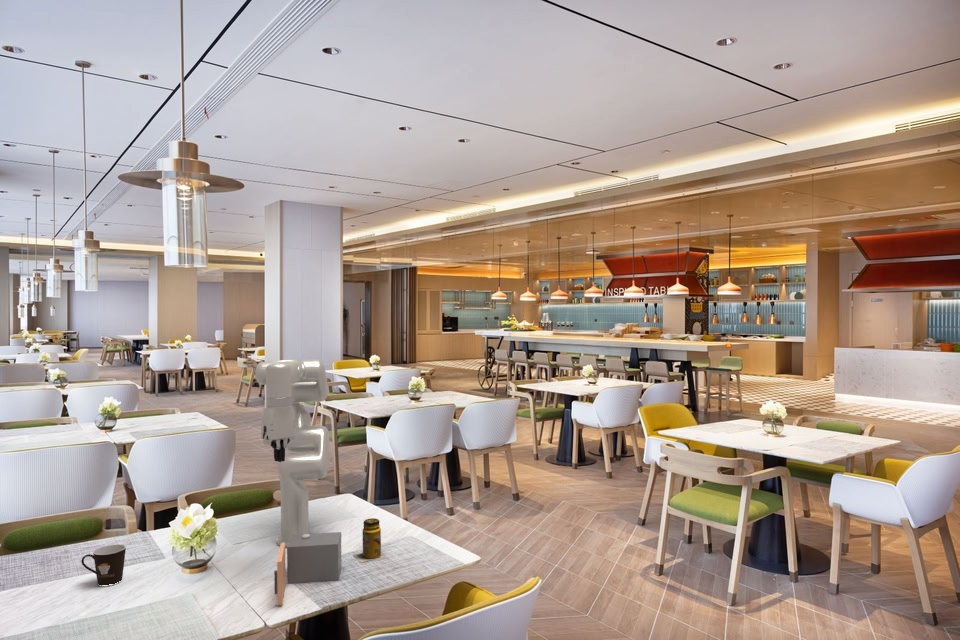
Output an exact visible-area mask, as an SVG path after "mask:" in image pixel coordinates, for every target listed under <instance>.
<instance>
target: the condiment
mask: <svg viewBox="0 0 960 640" xmlns="http://www.w3.org/2000/svg"><path fill="white" fill-rule="evenodd" d="M381 533H382V531H381V527H380V519H378V518H374V517H373V518H367V519H364V521H363V528H362V553H356V554H355V553H354V554H353V557H355V559H357V560H358V561H359V562H360V563H364V562H369V561H370V562H371V561H374V560H377V559H378V560H379V559H383V558H385V557H386V556H385V555H383V554H382V542H381V541H382V536H381V535H382V534H381Z"/></svg>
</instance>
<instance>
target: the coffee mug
mask: <svg viewBox="0 0 960 640" xmlns="http://www.w3.org/2000/svg"><path fill="white" fill-rule="evenodd" d="M126 550H127V547H126V545H124V544H109V545H105V546H101V547H98V548H96V549H94V550H93V551H92V553H93V554H90V553H88V554H86V555H84V556H83V557H82V558H81V565H82V566H83V567H84V568H85V569H86V570H88V571H90V572H91V573H93V574H95V575H96V581H97V582H96V583H97V585H98V584H99V585H109V584H115V583H117V582H119V581H121V580H122V581H123V576H124V567H125V560H126V559H125V558H126V552H127V551H126ZM87 557H91V558H92V559H93V561H94V562H93V563H94V568H95V570H94V569H92V568H91V567H89V566H87V565H86V564H85V558H87ZM122 581H121V582H122Z"/></svg>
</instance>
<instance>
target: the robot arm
mask: <svg viewBox="0 0 960 640" xmlns="http://www.w3.org/2000/svg"><path fill="white" fill-rule="evenodd" d="M254 377H255V378H254V379H255V381H256V382H257V383H258V384H259V385H262V386H264V385H265V387H266V388H265V389H266V390H265V394H266V395H265V402H266V403H265V404H266V406H265V407H264V408H263V411H262V416H261V426H260V437H261V439H263V442H262V443H263V445H267V446H271V448H272V449H273V461H274V462H277V472H278V477H279V488H280V533H281V534H280V536H278V537H277V538H276V544H277V546H279V547H280V545H281V544H282V543H285V548H287V546H288V544H289V542H290V540H291V538H292V536H293V535H298V534H311V533H310V532H309V531H310V529H309V527H310V526H309V523H310V521H309V520H310V519H309V514H310V513H309V512H310V511H309V490H308V487H307V486H306V484H305V483H304V482H303V481H304V480H307V481H308V480H320V479H324V478H325V477H326V476H327V474H328V471H329V462H330V461H329V460H330V459H329V457H330V444H331V443H330V432H329V429H328V428H327V426H324V425H319V424H318V425H311V414H310V412H309V411H308V409H306V407H304V406H303V405H302V404H301V403H310V402H312V403H314V402H316V403H317V402H318V403H319V402H324V401H325V400H326V399H327V397H328V395H329V387H328V379H327V373H326V369H325V365H324V363H323V362H322V361H321V360H320V359H317V358H313V359H312V358H310V359H309V358H307V359H302V358H301V359H300V358H299V359H282V360H274V361H273V360H270V361H260V362H258V364H257V365H256V367H255V370H254ZM286 450H287V451H288V453H286ZM289 452H290V453H289Z"/></svg>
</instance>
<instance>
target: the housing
mask: <svg viewBox="0 0 960 640" xmlns="http://www.w3.org/2000/svg"><path fill="white" fill-rule="evenodd" d="M286 558H287V559H286V563H287V564H286V566H287V567H286V568H287V571H286V572H287V573H286V574H287V576H286V577H287V581H286V582H287V584H288V585H289V584H305V583H321V582H333V581H339V580H340V574H341V571H342V568H343V567H342V565H343V564H342V532H341V531H336V532H319V533H318V532H317V533H310V534H298V535H293V536H292V538H291V540H290V542H289V544H288V546H287V547H286Z"/></svg>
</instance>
